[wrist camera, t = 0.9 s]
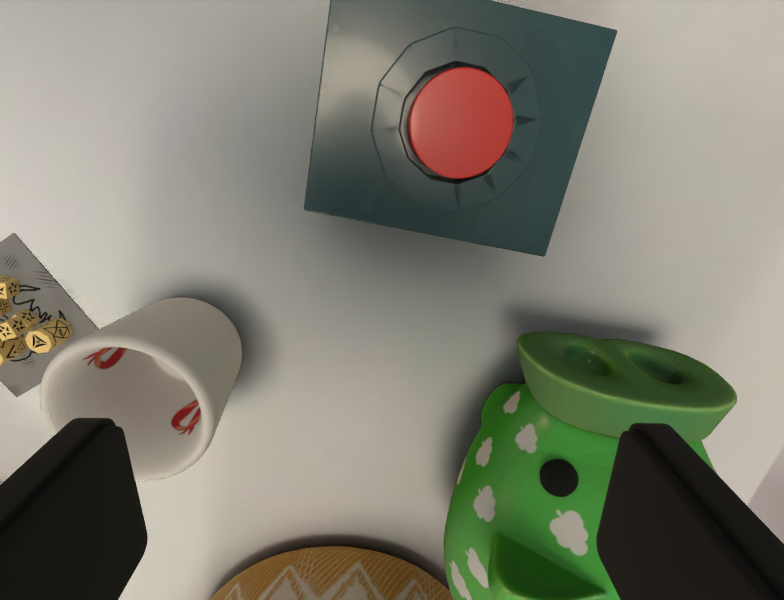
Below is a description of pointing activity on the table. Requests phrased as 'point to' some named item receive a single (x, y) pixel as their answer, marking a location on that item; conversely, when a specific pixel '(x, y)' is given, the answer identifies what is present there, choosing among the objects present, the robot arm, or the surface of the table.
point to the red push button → (460, 122)
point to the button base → (403, 83)
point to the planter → (333, 577)
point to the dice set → (32, 318)
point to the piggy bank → (563, 462)
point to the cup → (150, 382)
